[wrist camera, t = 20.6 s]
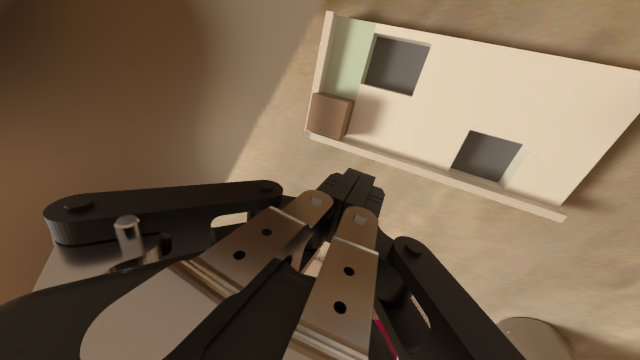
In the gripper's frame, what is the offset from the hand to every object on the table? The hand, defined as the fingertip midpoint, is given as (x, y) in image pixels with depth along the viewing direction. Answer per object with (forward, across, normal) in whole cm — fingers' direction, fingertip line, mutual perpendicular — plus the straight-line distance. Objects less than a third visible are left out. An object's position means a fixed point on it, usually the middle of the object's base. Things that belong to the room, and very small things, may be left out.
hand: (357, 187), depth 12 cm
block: (+22, +8, +1) cm, 24 cm away
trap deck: (+25, -5, -3) cm, 26 cm away
